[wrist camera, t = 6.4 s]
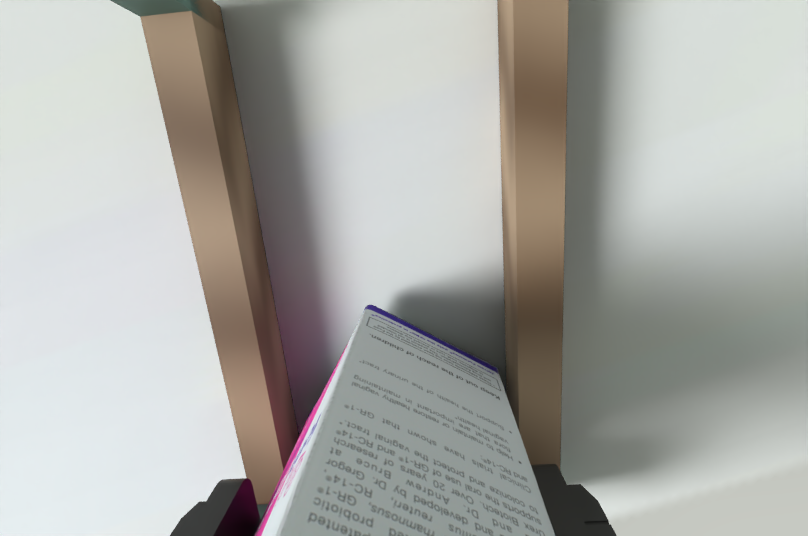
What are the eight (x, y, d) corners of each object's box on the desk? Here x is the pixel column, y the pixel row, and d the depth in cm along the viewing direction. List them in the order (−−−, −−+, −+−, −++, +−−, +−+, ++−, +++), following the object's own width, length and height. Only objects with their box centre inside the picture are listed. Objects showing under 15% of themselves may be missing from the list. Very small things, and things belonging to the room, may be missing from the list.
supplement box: (363, 297, 14) (184, 763, 3) (500, 365, 15) (744, 955, 4) (300, 415, 16) (32, 1015, 5) (428, 473, 16) (455, 1125, 5)
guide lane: (175, 11, 13) (28, -83, 8) (545, -31, 12) (631, -162, 7) (278, 502, 18) (227, 629, 13) (542, 490, 17) (592, 618, 12)
